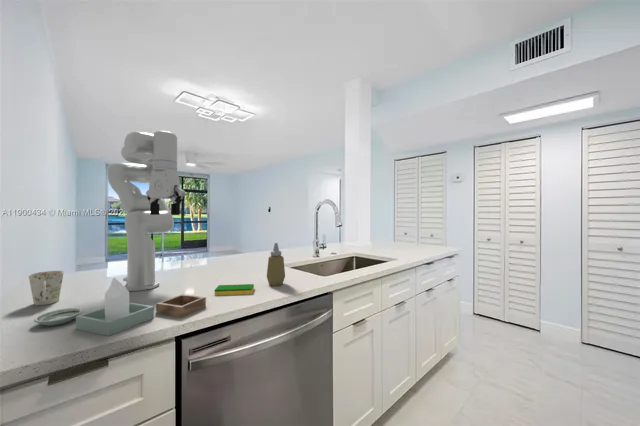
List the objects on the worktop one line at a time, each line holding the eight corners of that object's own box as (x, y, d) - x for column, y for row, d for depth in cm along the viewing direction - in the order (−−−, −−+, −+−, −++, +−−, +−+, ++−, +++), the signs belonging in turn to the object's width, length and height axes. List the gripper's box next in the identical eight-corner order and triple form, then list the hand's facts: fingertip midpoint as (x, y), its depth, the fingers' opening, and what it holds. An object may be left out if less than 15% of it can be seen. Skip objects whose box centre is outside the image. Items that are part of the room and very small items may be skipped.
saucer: (25, 332, 70) (25, 323, 70) (45, 318, 78) (45, 310, 78) (73, 326, 73) (73, 317, 73) (87, 314, 82) (87, 306, 82)
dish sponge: (251, 295, 103) (251, 288, 103) (214, 296, 101) (214, 289, 101) (253, 289, 110) (253, 283, 110) (218, 290, 108) (218, 284, 108)
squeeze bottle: (283, 287, 112) (284, 244, 112) (264, 286, 112) (264, 244, 112) (286, 281, 120) (286, 242, 120) (268, 281, 121) (268, 241, 120)
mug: (63, 296, 98) (63, 269, 98) (63, 305, 89) (63, 275, 89) (29, 302, 92) (29, 273, 92) (26, 312, 83) (26, 279, 83)
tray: (75, 328, 72) (75, 316, 72) (123, 312, 84) (123, 301, 84) (108, 335, 68) (108, 322, 68) (153, 317, 79) (153, 306, 79)
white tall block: (134, 276, 77) (113, 280, 72) (134, 317, 77) (113, 325, 72) (120, 274, 79) (99, 278, 74) (120, 314, 79) (99, 321, 74)
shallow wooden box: (156, 313, 83) (156, 303, 83) (182, 302, 92) (182, 294, 92) (181, 317, 80) (181, 307, 80) (205, 306, 89) (205, 297, 89)
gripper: (137, 166, 95) (137, 214, 95) (175, 164, 89) (174, 215, 90) (156, 169, 102) (156, 214, 102) (192, 167, 97) (192, 215, 97)
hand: (165, 214), depth 96 cm, fingers open, 9 cm apart
